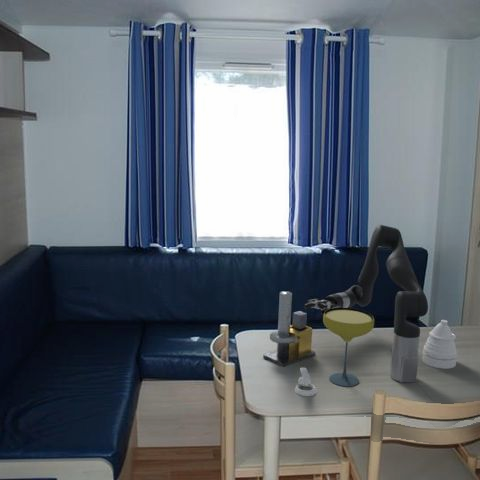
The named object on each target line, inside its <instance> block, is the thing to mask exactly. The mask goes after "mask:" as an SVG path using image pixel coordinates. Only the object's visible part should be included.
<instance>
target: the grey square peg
mask: <svg viewBox="0 0 480 480" xmlns="http://www.w3.org/2000/svg"><path fill="white" fill-rule="evenodd" d="M307 316H308V312H304V311H301V310H298V311H295V312H293V313H292V329H295V330H298V331H302V330H305V329H306V326H307V323H308V322H307V319H308V317H307Z"/></svg>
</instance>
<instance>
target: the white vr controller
mask: <svg viewBox="0 0 480 480" xmlns="http://www.w3.org/2000/svg"><path fill="white" fill-rule="evenodd" d="M299 370H300V374H301V376H299V378H298V380H297V381H298V383H297V384H296V386H295V388H294V392H295V393H296V394H297V395H299V396H304V397H312V396H314V395H315V394H317V389H316V386H315V385H314V384H311V377H310V374H309V371H308V369H307V368H306V367H300V368H299ZM301 387H307V388H310V390H304V389H301Z"/></svg>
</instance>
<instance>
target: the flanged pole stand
mask: <svg viewBox="0 0 480 480" xmlns="http://www.w3.org/2000/svg"><path fill="white" fill-rule="evenodd" d="M278 299H279V302H278V303H279V304H278V322H277V323H278V324H277V325H278V326H277V330H276V331H275V330H274V331H272V332H271V333H270V334H269V340H270V341H271V342H272V343H273V342H274V343H276V350H273V351H269V352H267V353H265V354H262V355H263V357H262V358H263V359H265V360H268V361H269V362H272V363H274V364H276V365H278V366H281V367H283V368H284V367H286V366H288V365H291V364H294V363H297V362H300V361H302V360H304V359H308V358H309V357H312V356H315V355H316V351H314V350H312V344H313V343H312V342H313V341H312V340H313V339H312V338H313V327H310V326H307V325H306V329H305V330H302V331H298V330H295V329H292V325H291V321H292V320H291V319H292V301H293V292H291V291H280V292H279V298H278Z"/></svg>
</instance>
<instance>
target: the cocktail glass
mask: <svg viewBox="0 0 480 480" xmlns="http://www.w3.org/2000/svg"><path fill="white" fill-rule="evenodd" d="M322 316H323V317H322V322H323V325H324V327H326V329H327V330H328V331H330V332H331V333H333V334H334V335H337V336H339V337H341V339H342V340H343V341H344V342H345V351H344V352H345V353H344V363H343V372H337V373H333V374H331V375H330V376H329V378H328V379H329V381H330V382H331V383H332V384H333V385H336V386H340V387H346V388H347V387H349V388H350V387H355V386H357V385H358V384H359V383H360V379H359V378H358V377H357V376H355V375H353V374H350V373H347V358H348V357H347V356H348V346H349V344H348V343H350V342H351V341H352V340H353V339H355V338H359V337H361V336H364V335H368V333H370V332H371V331H372V330H373V329H374V327H375V318H374V316H373V314H371V313H369V312H368V311H366V310H363V309H359V308H353V307H348V308H332V309H329V310H326V311H325V312H324V314H323V315H322Z"/></svg>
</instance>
